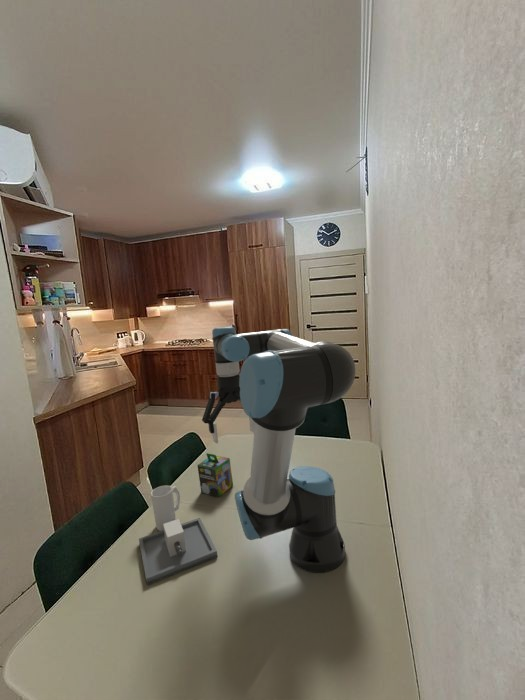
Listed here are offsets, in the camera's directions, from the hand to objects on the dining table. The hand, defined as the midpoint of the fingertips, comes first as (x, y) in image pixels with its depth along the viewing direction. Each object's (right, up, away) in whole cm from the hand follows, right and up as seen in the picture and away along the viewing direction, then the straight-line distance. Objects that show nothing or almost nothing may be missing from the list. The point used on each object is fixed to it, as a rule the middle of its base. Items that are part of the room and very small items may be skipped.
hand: (234, 436), depth 115 cm
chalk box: (-8, -25, +18) cm, 32 cm away
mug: (-21, -28, -1) cm, 36 cm away
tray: (-16, -30, -14) cm, 36 cm away
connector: (-16, -29, -14) cm, 36 cm away
